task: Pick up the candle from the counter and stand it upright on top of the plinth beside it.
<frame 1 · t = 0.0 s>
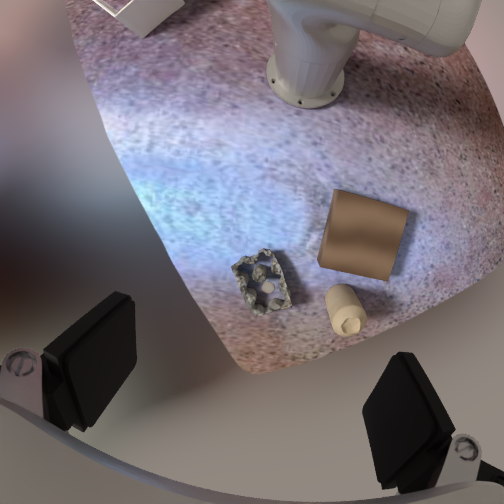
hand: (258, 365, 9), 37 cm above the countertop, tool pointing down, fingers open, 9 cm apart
candle: (339, 297, 47), on the countertop
plinth: (359, 232, 43), on the countertop
egg carton: (263, 278, 48), on the countertop
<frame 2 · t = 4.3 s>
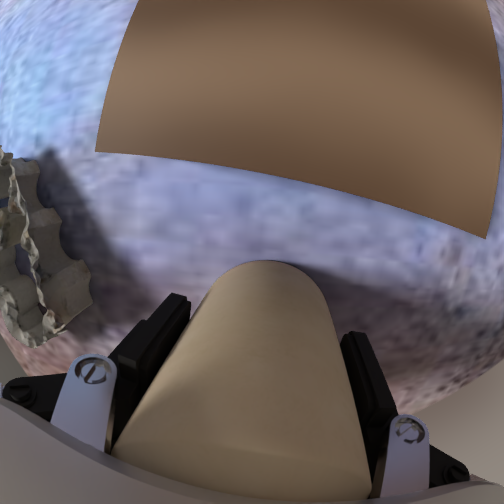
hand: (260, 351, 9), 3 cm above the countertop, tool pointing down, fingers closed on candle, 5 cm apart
candle: (265, 315, 12), on the countertop, touching gripper
plinth: (322, 45, 8), on the countertop
egg carton: (38, 244, 13), on the countertop
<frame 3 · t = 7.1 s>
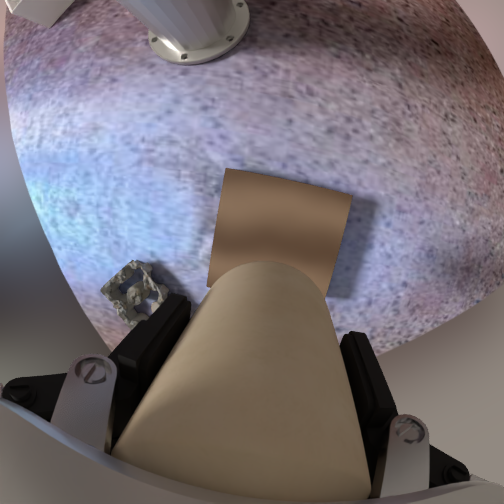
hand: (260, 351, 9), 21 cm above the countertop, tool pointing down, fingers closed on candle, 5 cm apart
candle: (265, 316, 12), point 18 cm above the countertop, touching gripper
plinth: (277, 234, 30), on the countertop
egg carton: (151, 298, 34), on the countertop
when the fingers open (8 cm above the countertop, at t = 10.4 s): candle drops 1 cm, resting on plinth.
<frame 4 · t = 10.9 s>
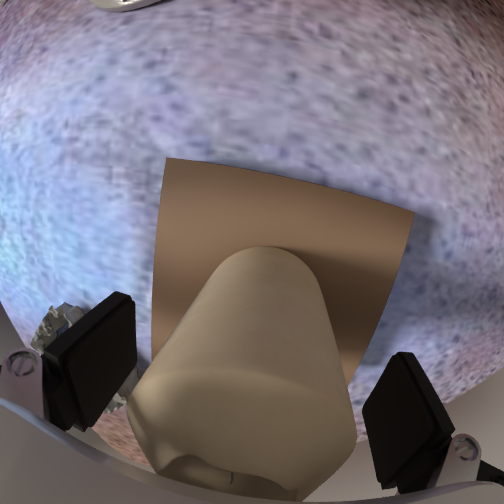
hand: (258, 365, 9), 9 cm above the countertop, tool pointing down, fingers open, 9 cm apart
candle: (264, 298, 13), point 4 cm above the countertop, touching plinth
plinth: (270, 274, 17), on the countertop
egg carton: (94, 351, 22), on the countertop
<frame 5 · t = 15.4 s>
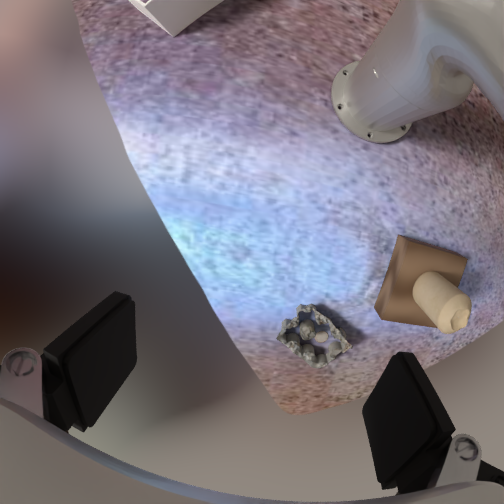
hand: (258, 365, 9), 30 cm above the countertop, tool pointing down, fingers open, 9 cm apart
candle: (426, 287, 34), point 4 cm above the countertop, touching plinth
plinth: (417, 279, 38), on the countertop
egg carton: (313, 330, 42), on the countertop
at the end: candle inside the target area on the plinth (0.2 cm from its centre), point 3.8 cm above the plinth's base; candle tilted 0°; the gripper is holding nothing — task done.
